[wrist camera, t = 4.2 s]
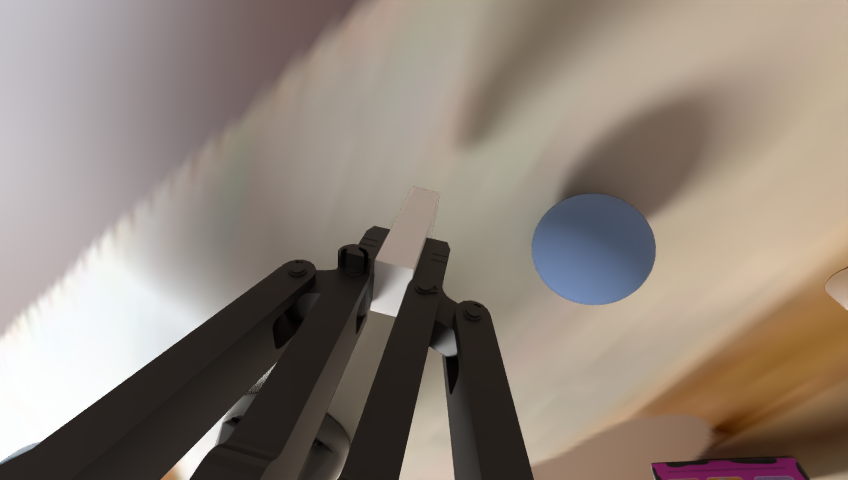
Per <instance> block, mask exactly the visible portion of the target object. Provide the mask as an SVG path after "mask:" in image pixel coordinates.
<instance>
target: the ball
mask: <svg viewBox="0 0 848 480" xmlns="http://www.w3.org/2000/svg"><path fill="white" fill-rule="evenodd" d="M655 252H656V245H655V239H654V235H653V232H652V229H651V227H650V226H649V224H648V222H647V220H646V219H645V218H644V217H643V215H642V214H641V213H640V212H639V211H638V210H637V209H636V208H634V207H633V206H632V205H630V204H629V203H627V202H625V201H624V200H621V199H619V198H616V197H613V196H610V195H605V194H596V193H591V194H581V195H576V196H573V197H570V198H567V199H565V200H563V201H561V202H559V203H558V204H556V205H555V206H553V207H552V208H551V209H550V210H549V211H548V212H547V213H546V214H545V215H544V216H543V217H542V219H541V220H540V222H539V223H538V225H537V227H536V229H535V232H534V236H533V240H532V257H533V261H534V265H535V268H536V270H537V272H538V274H539V275H540V277H541V279H542V280H543V281H544V282H545V284H546V285H547V286H548V287H549V288H550V289H551V290H553V291H554V292H555V293H557V294H558V295H560V296H562V297H563V298H565V299H568V300H570V301H573V302H576V303H580V304H587V305H603V304H609V303H613V302H616V301H619V300H621V299H623V298H625V297H627V296H629V295H630V294H632V293H633V292H635V291H636V290H637V289H638V288H639V287H640V286H641V285H642V284H643V283H644V282H645V280H646V279H647V277H648V276H649V274H650V272H651V270H652V267H653V264H654V261H655Z"/></svg>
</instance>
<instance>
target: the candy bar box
mask: <svg viewBox="0 0 848 480" xmlns="http://www.w3.org/2000/svg"><path fill="white" fill-rule="evenodd" d="M651 469H652V472H653V476H654V479H655V480H810V479H809V477H808V476H807V474H806V473H805V471H804V470H803V469H802V467H801V466H800V464H799V463H798V461H797V460H796V459H795V458H791V457H780V458H752V459H729V460H706V461H685V462H663V463H652V464H651Z"/></svg>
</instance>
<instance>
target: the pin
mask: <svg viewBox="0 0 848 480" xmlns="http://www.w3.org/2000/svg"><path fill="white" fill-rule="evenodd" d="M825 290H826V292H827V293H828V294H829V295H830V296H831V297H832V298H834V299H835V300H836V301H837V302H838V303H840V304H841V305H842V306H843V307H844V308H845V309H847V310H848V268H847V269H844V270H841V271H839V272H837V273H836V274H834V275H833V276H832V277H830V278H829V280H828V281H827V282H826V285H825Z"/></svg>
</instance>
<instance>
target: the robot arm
mask: <svg viewBox="0 0 848 480" xmlns="http://www.w3.org/2000/svg"><path fill="white" fill-rule="evenodd" d="M439 196H440V193H439V192H435V191H431V190H426V189H422V188H417V187H412V189H411V191H410V193H409V195H408V196H407V198H406V200H405V202H404V204H403V206H402V208H401V210H400V212H399V214H398V216H397V218H396V220H395V222H394V224H393V226H392V228H391V230H390V229H385V228H381V227H377V226H374V227H372V228H370V229H369V230H367V231H366V233H365V234H364V236H363V238H362V239H361V241H360V243H359V244H358V245H357V244H350V245H346V246H343V247H341V248H340V249H339V250H338V268H337V269H335V270H316V268H315V266H314V264H312V263H311V262H309V261H305V260H293V261H289V262H287V263H285V264H284V265H282V266H281V267H280V268H278V269H277V270H275V271H274V272H273V273H271V274H270V275H269V276H267V277H266V278H265V279H263V280H262V281H260V282H259V283H258V284H256V285H255V286H254V287H252V288H251V289H250V290H248V291H247V292H245V293H244V294H243V295H241V296H240V297H239V298H237V299H236V300H234V301H233V302H232V303H230V304H229V305H228V306H226V307H225V308H224V309H222V310H221V311H219V312H218V313H217V314H215V315H214V316H213V317H211V318H210V319H208V320H207V321H206V322H204V323H203V324H202V325H200V326H199V327H198V328H196V329H195V330H193V331H192V332H191V333H189V334H188V335H187V336H185V337H184V338H183V339H181V340H180V341H178V342H177V343H176V344H174V345H173V346H172V347H170V348H169V349H167V350H166V351H165V352H163V353H162V354H161V355H159V356H158V357H157V358H155V359H154V360H152V361H151V362H150V363H148V364H147V365H146V366H144V367H143V368H142V369H140V370H139V371H137V372H136V373H135V374H133V375H132V376H131V377H129V378H128V379H126V380H125V381H124V382H122V383H121V384H120V385H118V386H117V387H116V388H114V389H113V390H111V391H110V392H109V393H107V394H106V395H105V396H103V397H102V398H101V399H99V400H98V401H96V402H95V403H94V404H92V405H91V406H90V407H88V408H87V409H85V410H84V411H83V412H81V413H80V414H79V415H77V416H76V417H75V418H73V419H72V420H70V421H69V422H68V423H66V424H65V425H64V426H62V427H61V428H59V429H58V430H57V431H55V432H54V433H53V434H51V435H50V436H49V437H47V438H46V439H44V440H43V441H42V442H38V443H34V444H31V445H28V446H26V447H24V448H22V449H20V450H18V451H16V452H15V453H13V454H12V455H10V456H9V457H7V458H6V459H4V460H3V461H1V462H0V480H160V479H161V478H162V477H163V476H164V475H165V474H166V473H167V472H168V471H169V470H170V469H171V468H172V467H173V466H174V465H175V464H176V463H177V462H178V461H179V460H180V459H181V458H182V457H183V456H184V455H185V454H186V453H187V452H188V451H189V450H190V449H191V448H192V447H193V446H194V445H195V444H196V443H197V442H198V441H199V440H200V439H201V438H202V437H203V436H204V435H205V434H206V433H207V432H208V431H209V430H210V429H211V428H212V427H213V426H214V425H215V424H216V423H217V422H218V421H219V420H220V419H221V418H222V417H223V416H224V415H225V414H226V413H227V412H228V411H229V412H228V413H227V415H226V416H225V418H224V420H223V422H222V425H221V428H220V431H219V435H218V438H217V441H216V444H215V447H214V448H213V449H211V450H210V451H209V452H208V454H207V455H206V456H205V458H204V459H203V460H202V461H201V463H200V464H199V466H198V467H197V469H196V470H195V472H194V474H193V475H192V477H191V478H190V480H335V479H336V478H337V476H338V475H339V474H340V472H341V470H342V472H341V474H340V476H339V478H338V479H337V480H399V476H400V471H401V467H402V463H403V458H404V454H405V449H406V445H407V440H408V436H409V432H410V427H411V423H412V418H413V414H414V409H415V405H416V401H417V396H418V392H419V387H420V383H421V378H422V374H423V370H424V365H425V361H426V356H427V352H428V348H429V346H430V347H432V348H433V349H435V350H437V351H438V352H440V353H442V354H443V355H442V358H443V368H444V378H445V388H446V397H447V407H448V417H449V427H450V436H451V446H452V456H453V466H454V475H455V480H534V479H533V475H532V471H531V467H530V463H529V459H528V456H527V452H526V448H525V444H524V440H523V437H522V433H521V429H520V425H519V421H518V418H517V414H516V410H515V406H514V403H513V399H512V395H511V391H510V387H509V384H508V380H507V376H506V372H505V368H504V365H503V361H502V357H501V353H500V349H499V346H498V342H497V338H496V334H495V331H494V327H493V323H492V319H491V315H490V313H489V311H488V309H487V308H485V307H484V306H483V305H482V304H480V303H478V302H475V301H463V302H461V303H459V304H458V303H456V302H454V301H453V300H451V299H450V298H448V297H447V296H446V294H445V293H444V291H443V288H442V285H443V280H444V275H445V271H446V266H447V262H448V257H449V253H450V248H449V245H448V243H447V242H444V241H439V240H435V239H431V236H432V231H433V226H434V221H435V216H436V211H437V206H438V201H439ZM370 304H371V309H370V310H371V311H375V312H379V313H383V314H386V315H390V316H394V317H396V319H395V322H394V325H393V328H392V331H391V333H390V336H389V339H388V342H387V345H386V348H385V350H384V353H383V356H382V359H381V362H380V365H379V367H378V370H377V373H376V376H375V379H374V382H373V384H372V387H371V390H370V393H369V396H368V399H367V401H366V404H365V407H364V410H363V413H362V416H361V418H360V421H359V424H358V427H357V430H356V433H355V435H354V438H353V441H352V444H351V447H350V442H349V439H348V436H347V435H346V433H345V431H344V430H343V429H342V428H341V426H340V425H339V424H338V423H337V422H335V421H334V420H333V419H332V418H331V417H329V416H328V415H327V414H326V411H327V409H328V407H329V404H330V402H331V400H332V398H333V395H334V393H335V391H336V388H337V386H338V384H339V382H340V379H341V377H342V375H343V372H344V370H345V368H346V366H347V363H348V361H349V359H350V356H351V354H352V352H353V350H354V347H355V345H356V343H357V340H358V338H359V336H360V334H361V331H362V329H363V327H364V324H365V322H366V319H367V311H368V309H369V306H370ZM277 361H278V362H277ZM276 362H277V363H276ZM275 363H276V365H275V366H274V368H273V370H272V371H271V373H270V374H269V376H268V377H267V379H266V381H265V382H264V384H263V385H262V387H261V388H260V390H259V392H258V393H251V394H247V395H245V394H246V392H247V391H248V390H249V389H250V388H251V387H252V386H253V385H254V384H255V383H256V382H257V381H258V380H259V379H260V378H261V377H262V376H263V375H264V374H265V373H266V372H267V371H268V370H269V369H270V368H271V367H272V366H273V365H274V364H275ZM349 449H350V450H349ZM343 466H344V467H343ZM342 468H343V469H342Z"/></svg>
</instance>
